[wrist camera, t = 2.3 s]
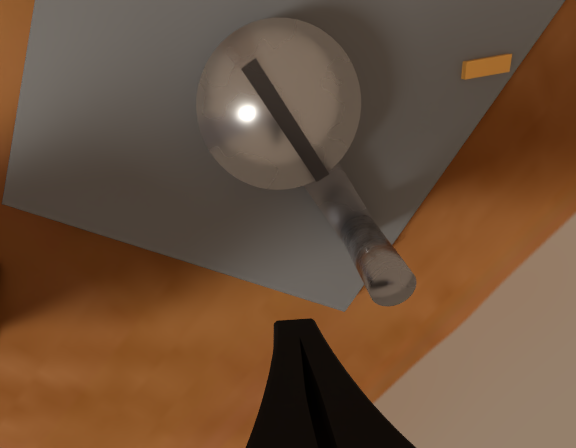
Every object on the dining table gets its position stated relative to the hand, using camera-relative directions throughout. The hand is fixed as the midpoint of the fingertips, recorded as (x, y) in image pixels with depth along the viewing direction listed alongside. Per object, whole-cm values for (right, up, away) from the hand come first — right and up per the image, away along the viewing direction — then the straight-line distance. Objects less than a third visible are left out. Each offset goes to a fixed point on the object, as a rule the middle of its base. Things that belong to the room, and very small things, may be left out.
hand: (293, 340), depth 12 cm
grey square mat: (-1, +10, +3) cm, 10 cm away
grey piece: (+1, +7, +3) cm, 8 cm away
